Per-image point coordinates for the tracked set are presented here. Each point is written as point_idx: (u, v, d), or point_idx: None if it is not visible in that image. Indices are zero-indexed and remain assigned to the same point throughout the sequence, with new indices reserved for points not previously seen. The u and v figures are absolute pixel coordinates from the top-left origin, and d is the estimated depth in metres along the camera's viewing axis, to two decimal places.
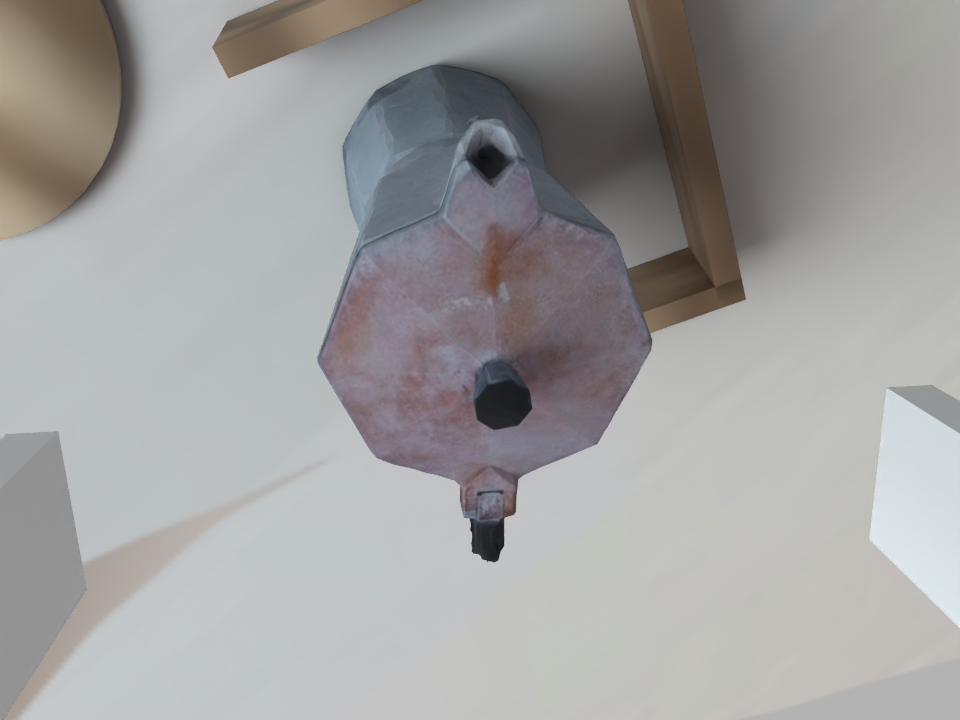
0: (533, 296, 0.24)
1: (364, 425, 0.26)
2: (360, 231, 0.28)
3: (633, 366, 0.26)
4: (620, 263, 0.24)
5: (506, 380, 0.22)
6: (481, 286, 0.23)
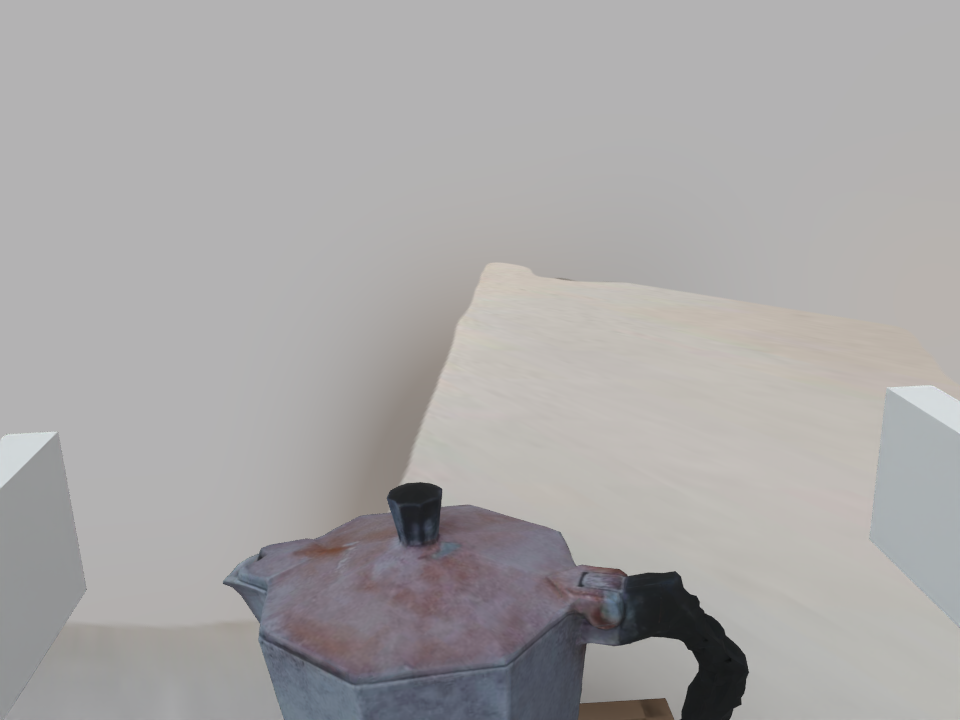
0: (367, 533, 0.27)
1: (450, 654, 0.22)
2: None
3: (481, 510, 0.29)
4: (382, 514, 0.29)
5: None
6: (337, 554, 0.26)
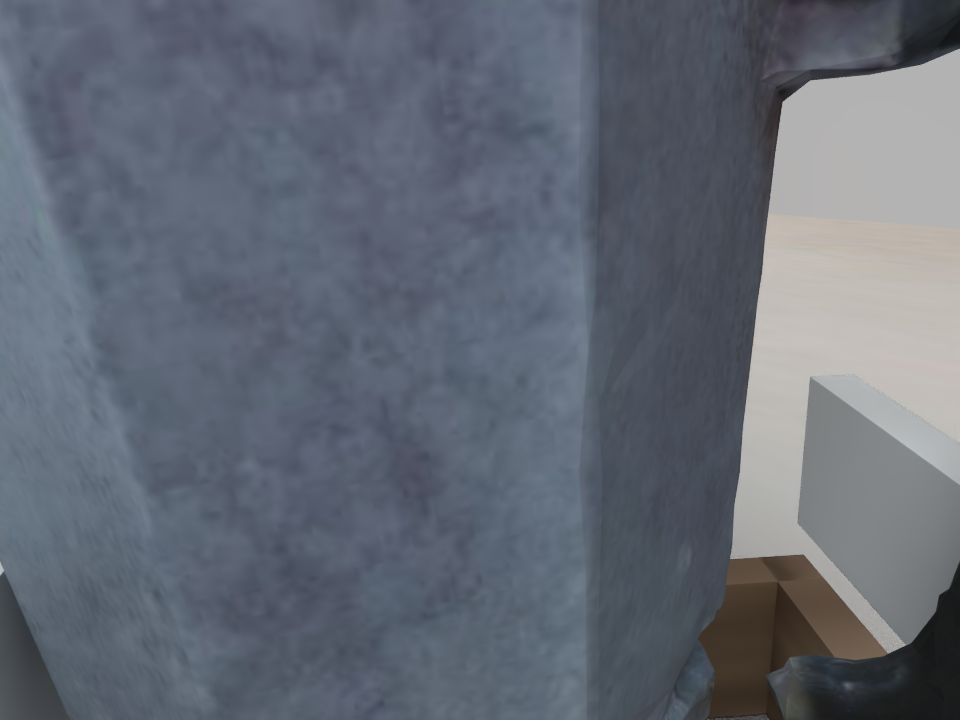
0: None
1: None
2: (69, 603, 0.08)
3: None
4: None
5: None
6: None
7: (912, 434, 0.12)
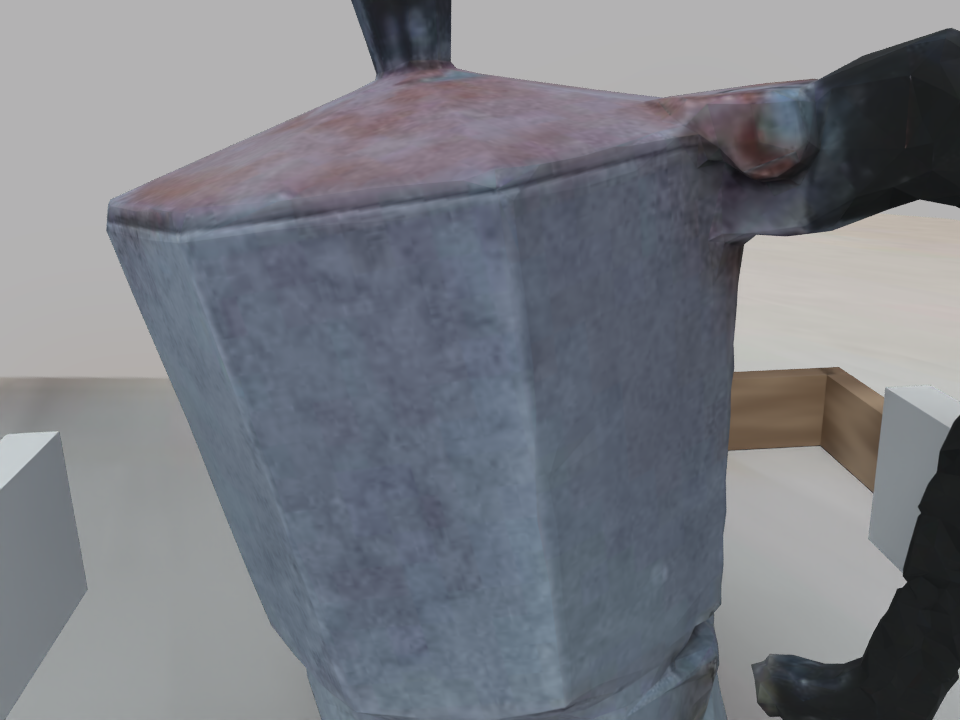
0: None
1: (381, 172, 0.10)
2: (261, 560, 0.13)
3: None
4: None
5: None
6: None
7: None
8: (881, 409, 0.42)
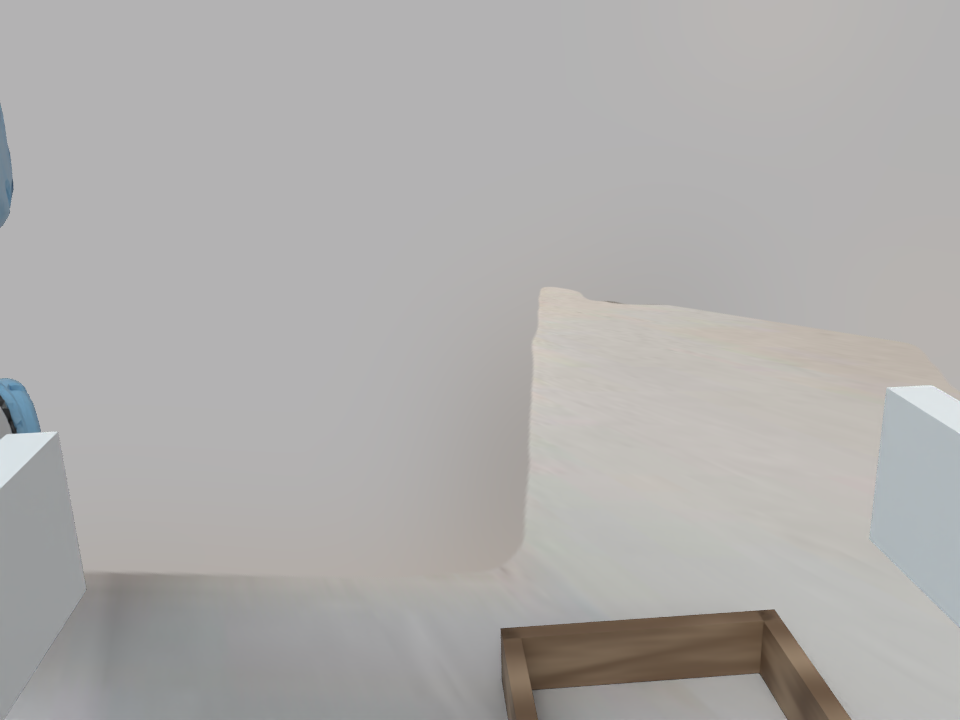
0: None
1: None
2: None
3: None
4: None
5: None
6: None
7: None
8: (801, 670, 0.53)
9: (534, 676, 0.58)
